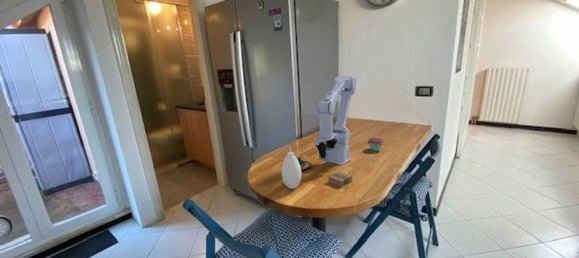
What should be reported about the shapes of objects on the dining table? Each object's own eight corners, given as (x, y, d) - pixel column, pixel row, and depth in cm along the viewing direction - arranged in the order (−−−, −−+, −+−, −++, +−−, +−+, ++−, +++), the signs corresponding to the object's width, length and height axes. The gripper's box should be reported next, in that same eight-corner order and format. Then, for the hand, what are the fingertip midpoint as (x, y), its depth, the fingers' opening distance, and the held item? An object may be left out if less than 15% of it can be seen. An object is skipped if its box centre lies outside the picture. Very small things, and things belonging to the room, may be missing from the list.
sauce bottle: (287, 182, 109) (284, 142, 104) (304, 184, 106) (302, 144, 102) (279, 190, 102) (277, 148, 97) (298, 193, 99) (296, 150, 95)
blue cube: (325, 156, 120) (325, 146, 119) (334, 158, 117) (334, 148, 115) (318, 159, 117) (318, 149, 115) (327, 162, 113) (327, 151, 112)
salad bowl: (290, 173, 118) (290, 159, 116) (284, 165, 129) (283, 151, 127) (314, 170, 121) (314, 155, 119) (306, 161, 132) (306, 148, 130)
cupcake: (367, 151, 141) (368, 131, 138) (367, 147, 149) (367, 127, 146) (384, 152, 139) (385, 131, 136) (382, 147, 147) (383, 127, 144)
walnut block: (338, 177, 112) (338, 171, 111) (352, 182, 107) (352, 175, 106) (328, 182, 107) (328, 176, 107) (342, 188, 102) (342, 181, 102)
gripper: (328, 123, 121) (328, 150, 124) (308, 129, 111) (309, 158, 114) (340, 125, 116) (340, 153, 119) (321, 131, 106) (321, 162, 109)
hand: (326, 155), depth 116 cm, fingers closed on blue cube, 5 cm apart
